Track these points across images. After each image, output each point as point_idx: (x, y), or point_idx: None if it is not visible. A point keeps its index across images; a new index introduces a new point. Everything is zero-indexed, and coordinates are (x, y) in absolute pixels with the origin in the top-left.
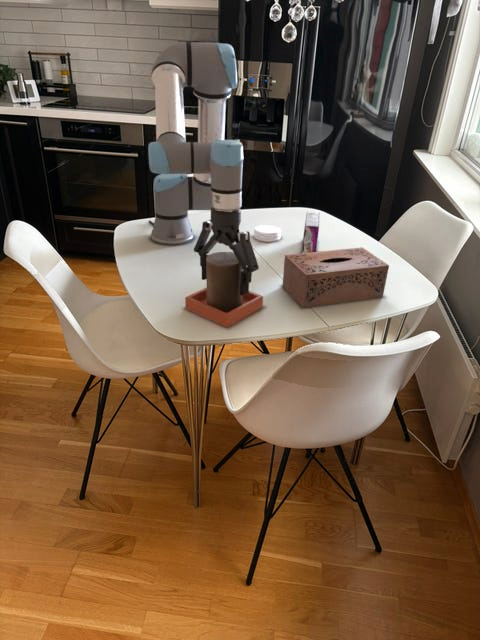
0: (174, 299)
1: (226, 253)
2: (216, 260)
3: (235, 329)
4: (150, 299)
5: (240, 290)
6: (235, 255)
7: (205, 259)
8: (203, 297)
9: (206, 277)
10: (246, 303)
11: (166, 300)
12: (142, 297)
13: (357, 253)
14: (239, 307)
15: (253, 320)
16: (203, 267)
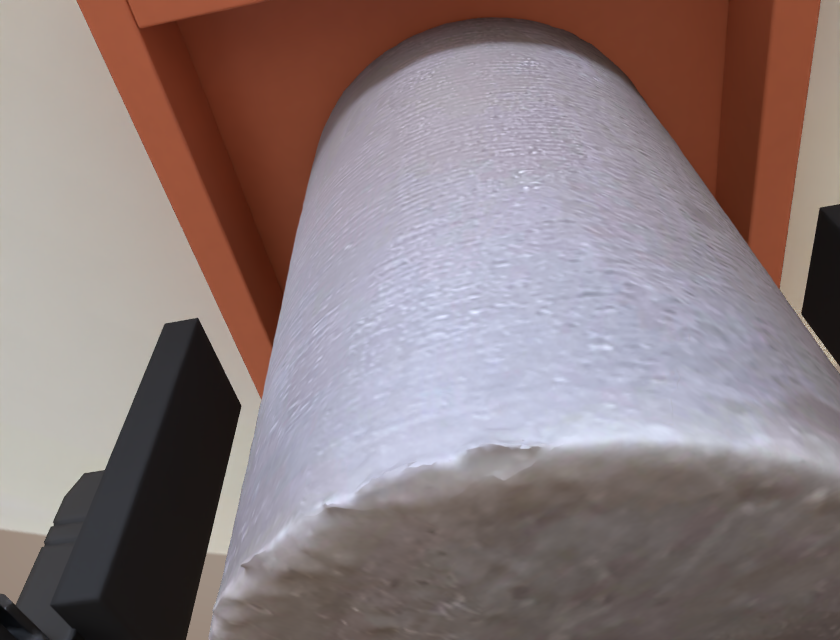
0: (124, 386)
1: (395, 597)
2: None
3: (788, 298)
4: (60, 486)
5: (837, 352)
6: None
7: (167, 623)
8: (271, 281)
9: (219, 382)
10: (772, 149)
11: (117, 428)
12: (11, 506)
13: None
14: (763, 255)
15: (837, 103)
16: (206, 540)
